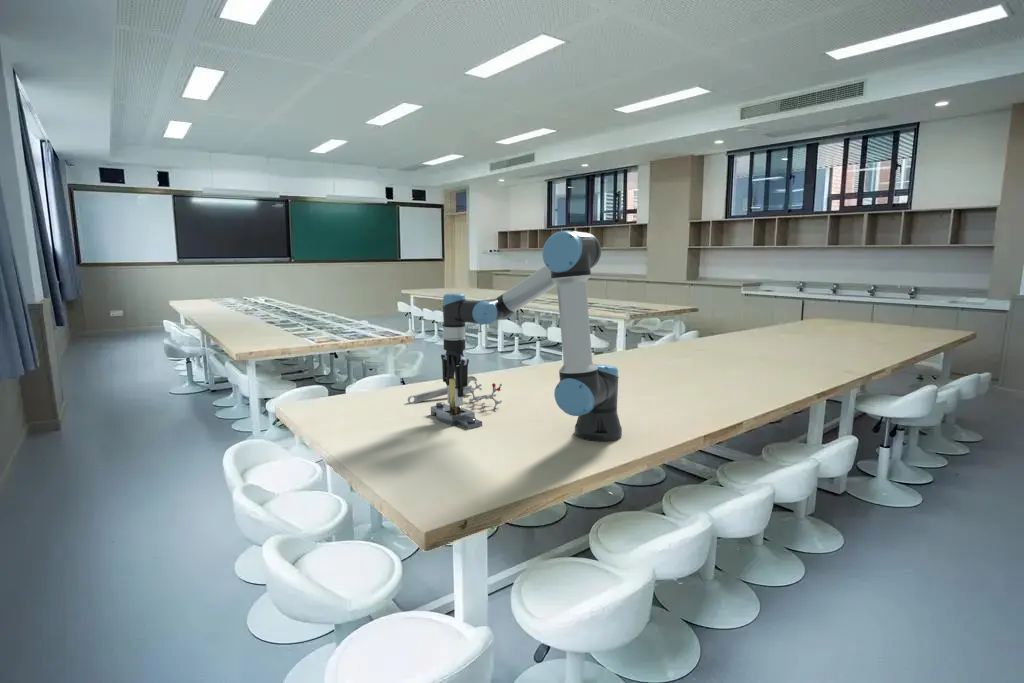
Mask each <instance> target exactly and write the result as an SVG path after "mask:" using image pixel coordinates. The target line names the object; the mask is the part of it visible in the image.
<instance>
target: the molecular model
mask: <svg viewBox="0 0 1024 683" xmlns="http://www.w3.org/2000/svg"><path fill="white" fill-rule="evenodd" d="M477 383H478V381H474V382H473V384H475V387H472V385H471V384H469V385H468V386H466V389H465V390H463V393H465V391H466V390H469V391H468V394H471V395H472V398H471V397H470V398H469V399H468V400H469V403H470V404H472V402H473V401H475V402H479V401H482V400H484V399H485V400H488V399H490V400H493V401H494V403H495V404H494V406H493V409H495V410H496V409H497V405H500V404H502V402H503V400H501V399H500V400H496V399H495V398H494V397H497V394H495V392H497V391H498V392H500V391H501V388H502V386H503V383H499V385H498V387H497V386H496V383H494V382H493V383H492V384H491V387H492V392H491V393H490V394H484V395H477V396H475V394H474V392H475V390H476V389H478V390H479V391H482V390H483V388H481V387H482V385H483V384H482V383H479V384H477ZM471 387H472V388H474V389H473V390H471V389H470V388H471Z"/></svg>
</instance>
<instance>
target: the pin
mask: <svg viewBox="0 0 1024 683" xmlns="http://www.w3.org/2000/svg"><path fill="white" fill-rule="evenodd" d="M455 387H457V386H456V378H455V376H454V377H453V378H449V404H448V405H449V406H450V413H454V414H456V413H460V412H461V407H462V405H461V406H457V407H456V406H455Z"/></svg>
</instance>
